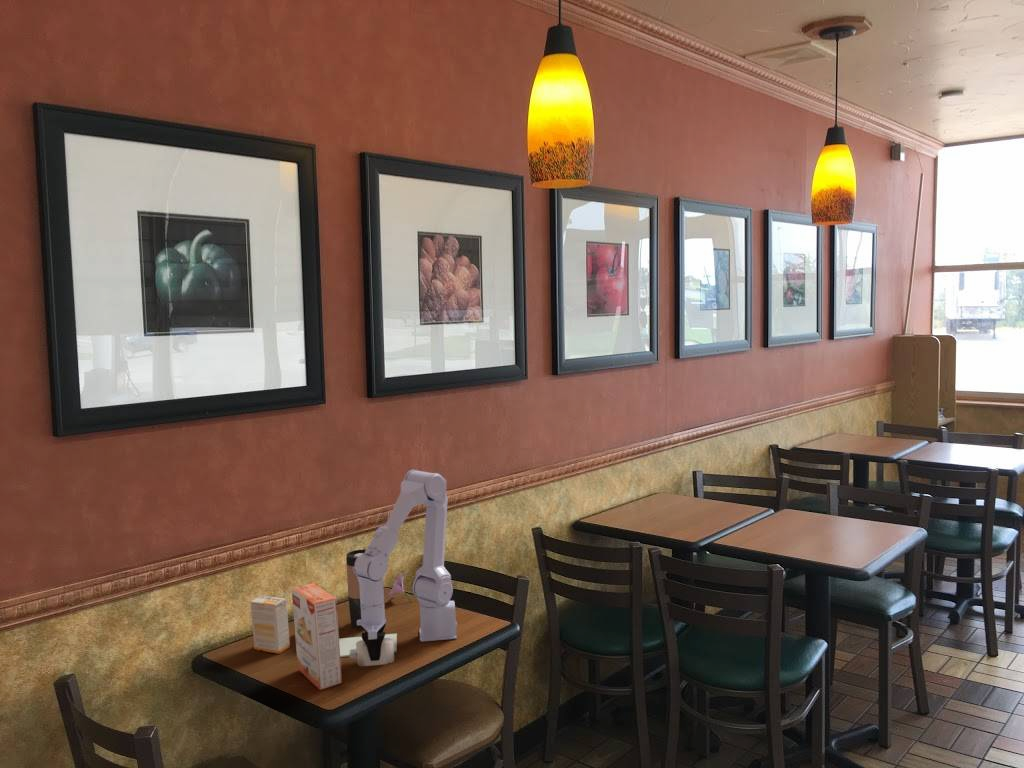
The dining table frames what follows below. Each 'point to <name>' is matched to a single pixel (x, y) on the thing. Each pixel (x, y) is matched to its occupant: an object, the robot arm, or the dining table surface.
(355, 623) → the travel mug
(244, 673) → the dining table surface
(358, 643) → the grey rounded piece
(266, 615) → the supplement box
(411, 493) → the robot arm
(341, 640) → the mat
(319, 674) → the cracker box
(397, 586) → the lily
